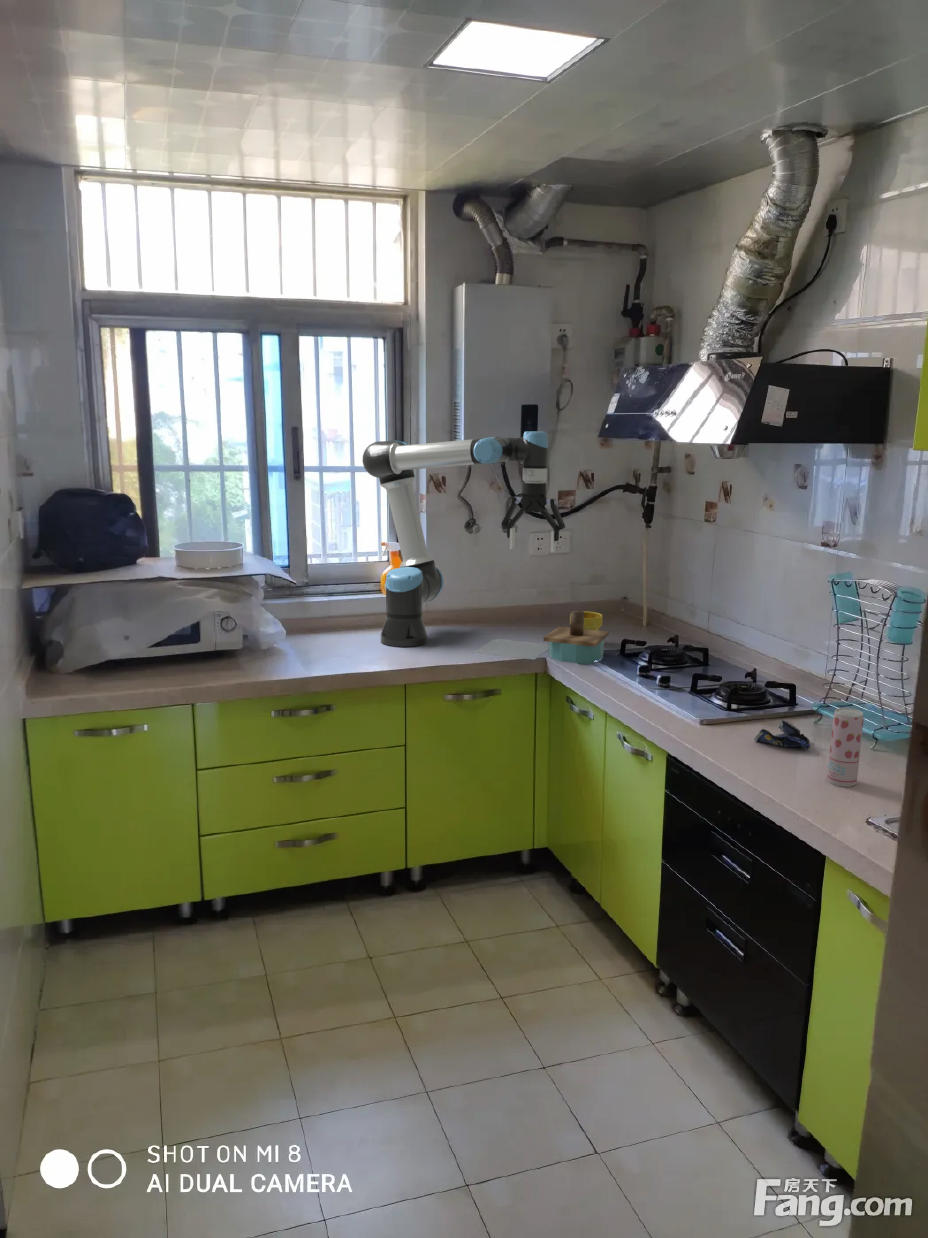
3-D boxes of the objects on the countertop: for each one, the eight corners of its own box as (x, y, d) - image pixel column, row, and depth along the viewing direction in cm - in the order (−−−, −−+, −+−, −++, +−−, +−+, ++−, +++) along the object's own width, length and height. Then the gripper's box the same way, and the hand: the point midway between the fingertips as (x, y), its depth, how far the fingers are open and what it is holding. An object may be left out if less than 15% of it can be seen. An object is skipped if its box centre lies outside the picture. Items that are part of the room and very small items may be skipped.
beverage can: (820, 780, 191) (828, 710, 188) (837, 774, 195) (844, 705, 191) (845, 789, 187) (853, 718, 184) (862, 783, 190) (870, 713, 187)
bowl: (542, 660, 282) (543, 641, 281) (558, 648, 296) (559, 630, 295) (594, 666, 276) (595, 646, 275) (607, 654, 290) (608, 635, 289)
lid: (543, 641, 281) (544, 614, 279) (558, 630, 295) (559, 604, 293) (595, 646, 275) (596, 619, 273) (608, 635, 289) (609, 609, 287)
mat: (472, 653, 288) (472, 652, 288) (495, 640, 306) (495, 638, 306) (534, 661, 281) (534, 659, 281) (554, 646, 299) (554, 645, 299)
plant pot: (591, 649, 296) (592, 619, 294) (563, 644, 302) (564, 614, 300) (606, 643, 304) (608, 614, 302) (579, 638, 310) (580, 609, 308)
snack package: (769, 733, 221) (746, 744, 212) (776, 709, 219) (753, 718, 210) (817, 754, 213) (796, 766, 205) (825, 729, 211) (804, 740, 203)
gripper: (492, 481, 291) (491, 548, 296) (569, 484, 282) (567, 554, 286) (500, 479, 298) (499, 545, 302) (576, 482, 289) (573, 551, 293)
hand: (532, 550), depth 294 cm, fingers open, 13 cm apart
